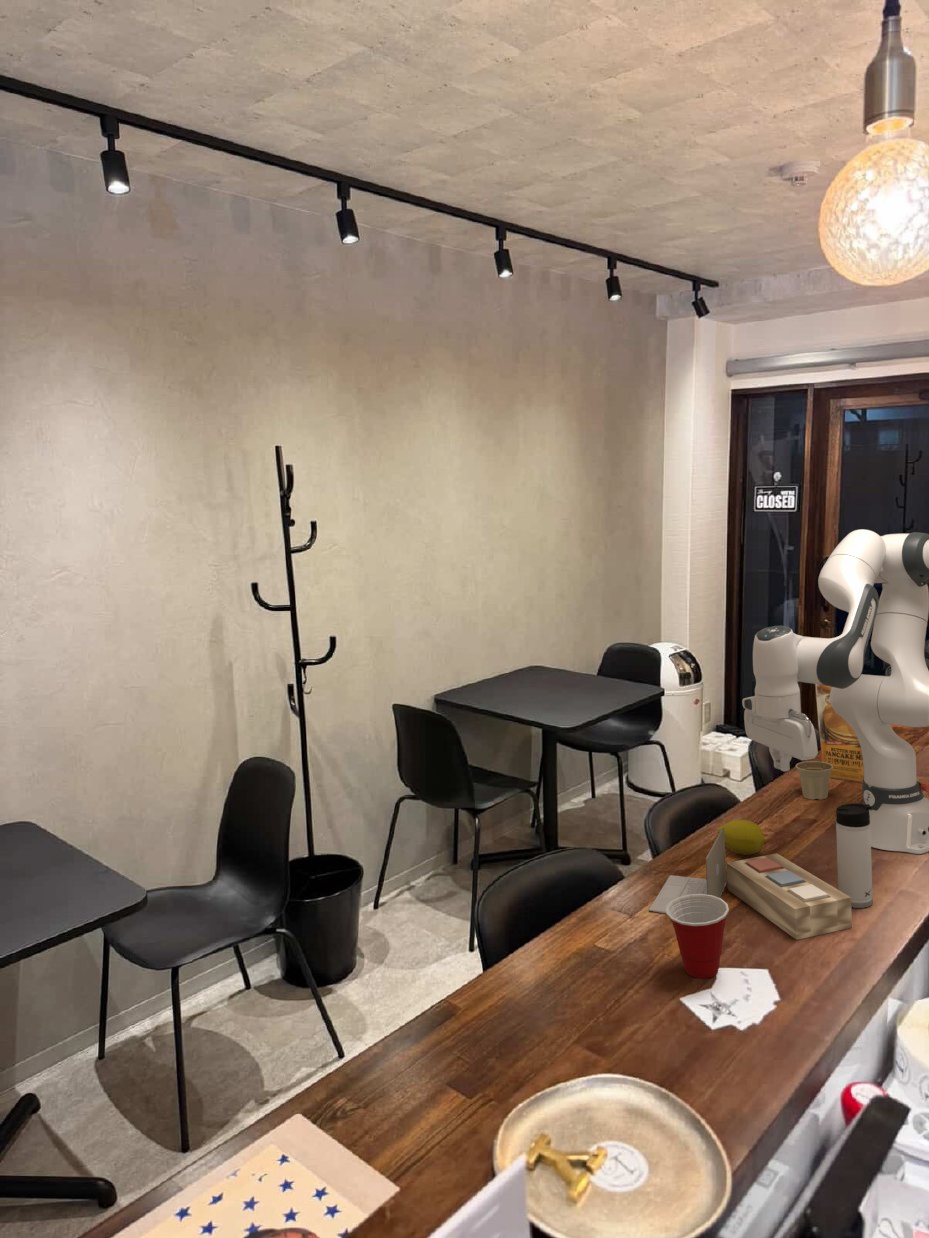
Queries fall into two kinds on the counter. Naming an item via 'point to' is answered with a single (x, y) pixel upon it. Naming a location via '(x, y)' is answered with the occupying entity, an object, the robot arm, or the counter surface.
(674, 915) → the plastic cup
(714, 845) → the laptop
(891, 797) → the robot arm
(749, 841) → the lemon
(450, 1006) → the counter surface
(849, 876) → the travel mug
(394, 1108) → the counter surface
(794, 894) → the white key
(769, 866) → the red key
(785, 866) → the key panel
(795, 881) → the slate key
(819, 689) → the pancake mix bag
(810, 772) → the flower pot
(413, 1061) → the counter surface
